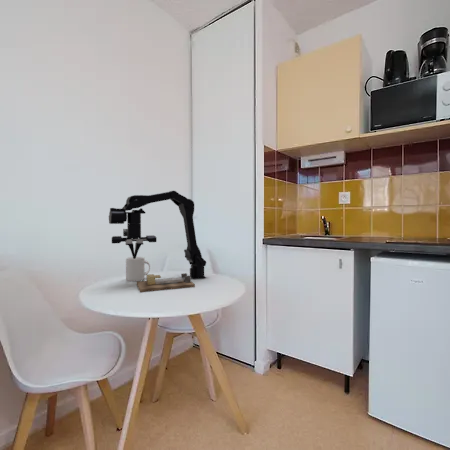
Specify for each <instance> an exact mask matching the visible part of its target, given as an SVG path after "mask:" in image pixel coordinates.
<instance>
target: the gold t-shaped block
mask: <svg viewBox="0 0 450 450" xmlns="http://www.w3.org/2000/svg"><path fill="white" fill-rule="evenodd" d="M155 279H162V278H161V275H160V274H153V273H151V274H147V275H146V281H147V284H148V285H152V284H155Z"/></svg>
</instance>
